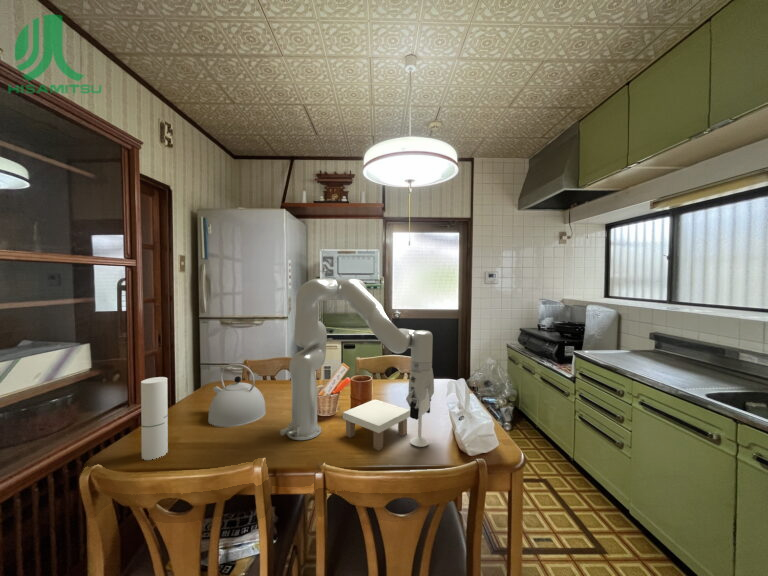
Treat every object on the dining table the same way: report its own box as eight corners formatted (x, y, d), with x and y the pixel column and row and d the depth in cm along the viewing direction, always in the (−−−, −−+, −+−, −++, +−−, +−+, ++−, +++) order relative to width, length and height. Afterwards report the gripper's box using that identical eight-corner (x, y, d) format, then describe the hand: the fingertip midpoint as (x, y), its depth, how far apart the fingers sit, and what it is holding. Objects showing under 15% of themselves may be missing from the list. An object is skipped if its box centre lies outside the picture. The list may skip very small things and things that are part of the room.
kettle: (190, 422, 133) (190, 367, 133) (232, 402, 155) (232, 356, 155) (240, 430, 126) (239, 373, 125) (276, 409, 147) (276, 360, 147)
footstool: (378, 452, 110) (378, 425, 109) (343, 435, 121) (343, 412, 121) (409, 433, 123) (409, 410, 123) (375, 420, 135) (375, 399, 135)
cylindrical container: (172, 448, 112) (172, 376, 111) (158, 460, 104) (158, 383, 104) (151, 449, 111) (150, 377, 111) (136, 460, 104) (135, 383, 104)
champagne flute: (416, 435, 120) (418, 371, 119) (432, 441, 116) (434, 375, 115) (406, 442, 115) (407, 375, 114) (422, 448, 110) (424, 379, 110)
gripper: (416, 372, 106) (414, 426, 106) (442, 363, 119) (441, 411, 119) (398, 368, 111) (396, 419, 111) (425, 359, 124) (424, 405, 124)
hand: (420, 414), depth 115 cm, fingers closed on champagne flute, 6 cm apart
